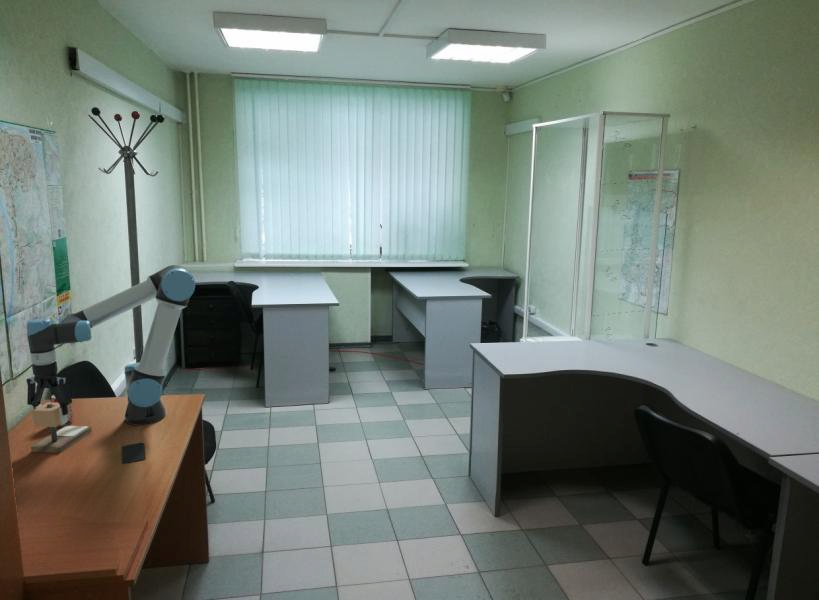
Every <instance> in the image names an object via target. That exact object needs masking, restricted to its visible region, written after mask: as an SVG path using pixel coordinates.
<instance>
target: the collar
mask: <svg viewBox="0 0 819 600" xmlns="http://www.w3.org/2000/svg"><path fill="white" fill-rule="evenodd" d="M48 404H53V407H52V408H47V405H48ZM58 407H60V405H59V403H53V402H50V401H48V402H45V403H43V405H42V406H40V407H38V408H36V409H34V408H33V409H32V410H31V412H32V413H31V414H32V419H33V426H34V427H35V428H37V427H39V428H40V427H41V428H44V427H45V428H47V427H56V428H57V427H59V426H58V425H60V424H61V423H60V416H59V409H58ZM67 408H68V414H67V420H68V419H70V412H69V405H67Z"/></svg>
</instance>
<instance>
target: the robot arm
mask: <svg viewBox="0 0 819 600" xmlns="http://www.w3.org/2000/svg"><path fill="white" fill-rule="evenodd" d="M195 288H196V281H195V278H194V276H193V275H192V273H191V272H190V271H188V270H187V268H185V267H183V266H181V265H175V264H173V265H168V266H166V267H163V268H162V269H160V270H159V271H157V272H155V273H153V274H150V275H149V276H147V278H146V280H145V281H142V282H140V283H137V284H136V285H133V286H131V287H129V288H127V289H125V290H123V291H121V292H118V293H116V294H114V295H112V296H110V297H108V298H106V299H103V300H101V301H98V302H97V303H94V304H92V305H90V306H88V307H86V308H83V309H82V310H80V311H77V312H74V313H70V314H68V315H66V316H65V317H64V318H63V321H62V322H60V323H52V321H51V318H47V317H45V318H43V317H42V318H35V319H31V320H29V321H27V323H26V337H27V342H28V347H29V355H30V360H31V364H32V365H31V370H32V374H33V375H34V376H31V377H29V378H26V379H25V381H26V385H27V396H26V397H27V400H26V402H27V406H32V407H33V410H34V409H36V408H38V407H40V406H42V405H44V403H43V404H42V402H41V401H42V399H43V394H44V391H45V389H49V391H50V392H52V395H54V396H55V398H56V399H57V401H58V403H59V405H60V407H58V409H59V416H60V423H61V425H63V424H65V423H66V422H68V421H67V414H68V408H67V405H69V404H71V405H72V403H73V400H72V399H73V398H72V396H71V393H70V390H69V386H68V378H67V377H66V376H64V377H60V376H59V375H58V363H57V361H56V360H57V355H56V354H57V353H56V348H55V346H57V345H65V344H72V343H73V344H76V343H83V342H89V341H91V340H92V328H95V327H97V326H98V325H101V324H103V323H104V322H108V321H109V320H111V319H113V318H116V317H118V316H120V315H121V314H123V313H126V312H128V311H131V310H132V309H135V308H136V307H138V306H140V305H143V304H145V303H147V302H149V301H151V300H154V299H155V300H156V302H157V306H156V310H155V311H154V316H153V319H152V322H151V325H150V329H149V332H148V335H147V339H146V341H145V346H144V348H143V351H142V355H141V358H140V361H139V362H134V363H129V364H127V365H125V367H124V372H123V373H124V375H125V376H124V378H125V386H126V394H127V397H126V398H127V406H126V409H125V413H124V419H125V420H124V421H126V422H127V423H126V422H125V423H126V424H128V423H129V425H133V424H134V425H136V426H137V425H138V426H139V425H140V426H141V425H145V424H146V425H148V424H152V423H155V421H156V422H158V421H160V419H161V420H162V419H164V418H165V417H166V415H167V413H166V408H165V406H164V404H163V402H162V400H161V398H162V395H163V384H164V382H165V377H166V374H167V373H166V371H165V370H164V366H165V363H166V361H167V357H168V354H169V350H170V347H171V345H172V341H173V338H174V335H175V332H176V328H177V326H178V323H179V322H178V321H179V319H180V316H181V313H182V310H183V309H185V308H187V307H188V304H189V301H190V298H191V297H192V295H193V294H194V293H195ZM164 416H165V417H164ZM163 417H164V418H163ZM157 420H158V421H157ZM151 422H152V423H151ZM147 423H148V424H147Z"/></svg>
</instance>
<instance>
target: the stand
mask: <svg viewBox="0 0 819 600" xmlns="http://www.w3.org/2000/svg"><path fill="white" fill-rule="evenodd" d="M52 407H53V404H48V405H47V408H52ZM46 428H48V429H50V434H49V435H48V436H46V437H44V438H43V439H41V440H40V441H38V442H36V443H35V444H33V445H31V446H30V449H31V450H30V451H31V453H51V452H52V453H53V454H54V453H56V452H57V454H59V453H62V452H64V451H66V450H67V449H69V448H71V446H73V445H75V444H76V443H77V442H80V441H81V440H82V439H84V438H85V437H87V436H89V433H90V432H91V433H92V432H93V431H92V427H91V426H85V425H84V426H83V425H66V426H62V427H61V428H59V429H58V430H57V427H46ZM91 433H90V434H91ZM86 435H87V436H86ZM84 436H85V437H84ZM83 437H84V438H83ZM80 439H81V440H80Z"/></svg>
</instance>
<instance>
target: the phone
mask: <svg viewBox="0 0 819 600" xmlns="http://www.w3.org/2000/svg"><path fill="white" fill-rule="evenodd" d="M145 447H146V446H145V443H144V442H136V443H133V444H127V445H123V446H122V447H121V463H122V464H123V465H126V463H127V464H132V462H133V463H137V462H142V461H145V460H146V459H147V458H146V452H145V451H146V448H145Z"/></svg>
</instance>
